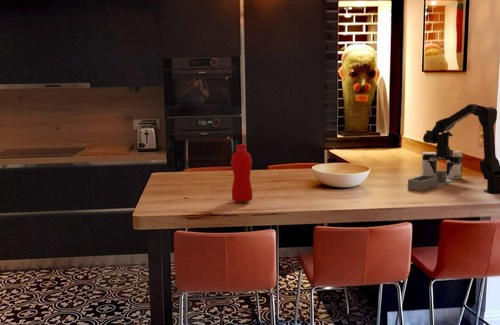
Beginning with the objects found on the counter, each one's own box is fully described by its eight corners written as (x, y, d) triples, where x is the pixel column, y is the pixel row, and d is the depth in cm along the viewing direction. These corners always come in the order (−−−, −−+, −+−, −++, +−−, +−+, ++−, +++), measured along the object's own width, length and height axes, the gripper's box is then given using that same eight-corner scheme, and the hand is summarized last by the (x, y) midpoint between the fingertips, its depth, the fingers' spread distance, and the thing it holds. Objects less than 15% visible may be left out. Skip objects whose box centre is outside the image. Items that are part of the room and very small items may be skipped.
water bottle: (251, 196, 239) (251, 142, 235) (252, 201, 228) (252, 145, 225) (231, 197, 239) (230, 143, 235) (231, 202, 228) (230, 146, 224)
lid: (441, 186, 259) (441, 173, 258) (427, 184, 265) (427, 172, 264) (454, 182, 271) (455, 169, 270) (441, 180, 276) (441, 168, 275)
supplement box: (436, 176, 286) (437, 153, 284) (422, 175, 287) (423, 153, 286) (434, 174, 293) (435, 151, 291) (421, 173, 295) (421, 151, 293)
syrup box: (452, 178, 277) (453, 152, 275) (445, 177, 282) (446, 150, 280) (461, 178, 278) (462, 151, 276) (454, 176, 284) (455, 150, 282)
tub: (422, 191, 245) (422, 181, 244) (407, 189, 250) (408, 179, 249) (437, 186, 256) (437, 176, 255) (422, 185, 261) (423, 175, 260)
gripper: (467, 144, 264) (465, 174, 266) (432, 142, 277) (431, 170, 279) (458, 146, 256) (456, 177, 258) (422, 144, 269) (421, 173, 271)
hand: (441, 174), depth 267 cm, fingers open, 6 cm apart
